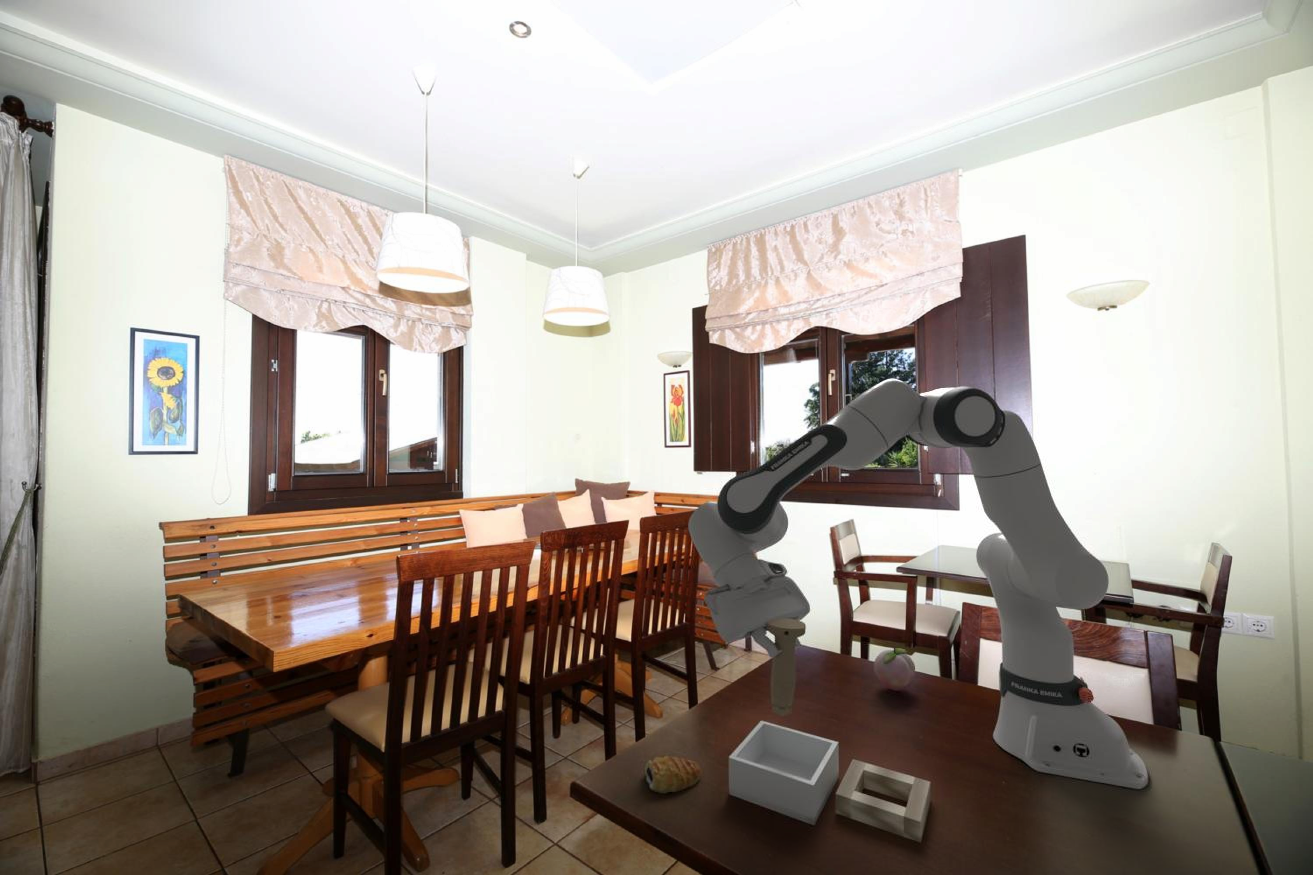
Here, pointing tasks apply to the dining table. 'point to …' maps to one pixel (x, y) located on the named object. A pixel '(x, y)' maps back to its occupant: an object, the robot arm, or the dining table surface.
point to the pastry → (671, 774)
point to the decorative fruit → (894, 668)
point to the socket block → (880, 811)
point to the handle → (784, 662)
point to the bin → (785, 771)
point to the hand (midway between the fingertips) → (786, 651)
